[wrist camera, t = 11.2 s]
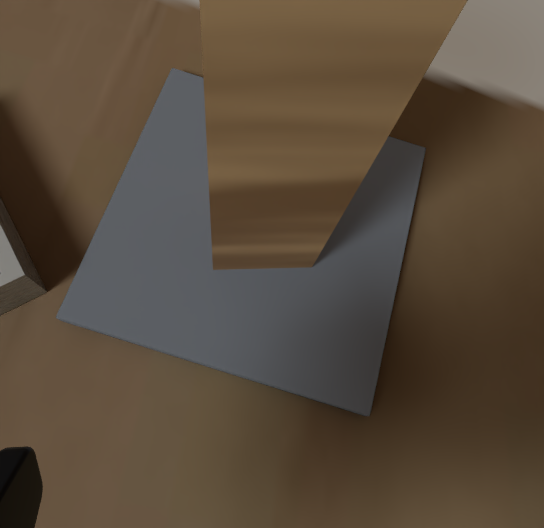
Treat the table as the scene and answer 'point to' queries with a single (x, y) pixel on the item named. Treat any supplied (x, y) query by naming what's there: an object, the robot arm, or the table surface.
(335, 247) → the grey square plate
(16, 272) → the white square ring
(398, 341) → the table surface
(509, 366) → the table surface
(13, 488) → the robot arm
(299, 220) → the tall wooden block
